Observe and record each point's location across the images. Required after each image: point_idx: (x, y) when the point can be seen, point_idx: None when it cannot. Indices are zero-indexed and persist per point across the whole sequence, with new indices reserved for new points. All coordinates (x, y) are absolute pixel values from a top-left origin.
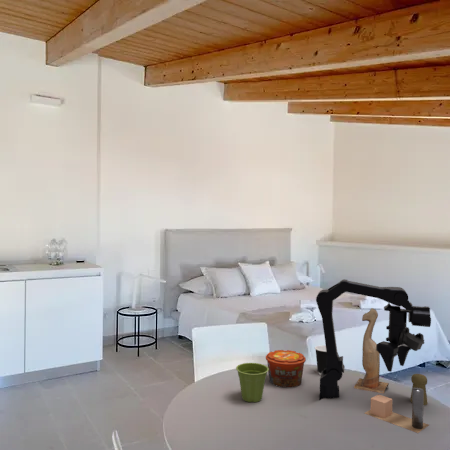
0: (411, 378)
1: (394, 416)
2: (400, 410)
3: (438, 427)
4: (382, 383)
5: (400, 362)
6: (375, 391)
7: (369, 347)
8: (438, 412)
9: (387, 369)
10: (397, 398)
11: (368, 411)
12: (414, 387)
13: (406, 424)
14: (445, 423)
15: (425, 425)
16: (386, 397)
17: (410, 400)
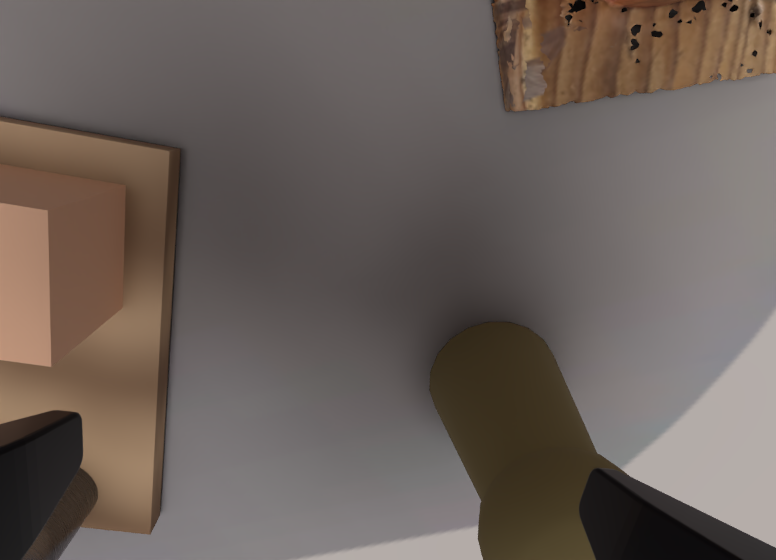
0: (535, 481)
1: (91, 334)
2: (322, 302)
3: (229, 540)
4: (757, 17)
5: (616, 512)
6: (515, 19)
7: None
8: (458, 496)
9: (24, 421)
10: (551, 215)
11: (7, 131)
12: (487, 455)
13: None
14: (315, 555)
15: (119, 521)
16: (37, 309)
17: (475, 349)
